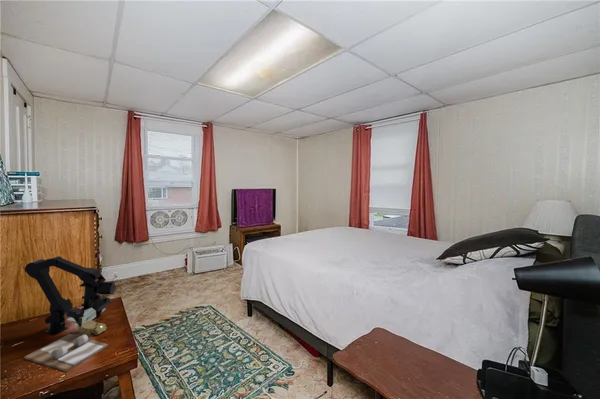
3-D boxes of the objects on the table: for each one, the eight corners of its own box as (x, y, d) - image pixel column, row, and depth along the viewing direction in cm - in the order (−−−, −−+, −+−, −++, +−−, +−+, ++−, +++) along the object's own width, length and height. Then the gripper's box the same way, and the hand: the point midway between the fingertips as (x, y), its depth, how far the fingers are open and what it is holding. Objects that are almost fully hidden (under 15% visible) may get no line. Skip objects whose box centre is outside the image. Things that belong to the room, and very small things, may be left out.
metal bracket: (88, 301, 152) (109, 305, 149) (91, 309, 154) (111, 313, 151) (63, 319, 138) (85, 324, 136) (65, 327, 140) (87, 332, 137)
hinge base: (24, 358, 110) (24, 347, 110) (69, 335, 128) (70, 326, 127) (67, 371, 105) (67, 360, 105) (107, 346, 123) (108, 336, 123)
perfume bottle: (76, 331, 132) (77, 324, 131) (88, 325, 137) (88, 318, 137) (97, 336, 129) (97, 329, 129) (108, 330, 135) (108, 323, 135)
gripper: (84, 304, 122) (82, 335, 123) (119, 290, 140) (117, 316, 141) (67, 300, 124) (65, 330, 125) (103, 286, 142) (101, 312, 143)
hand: (89, 322), depth 133 cm, fingers open, 9 cm apart
